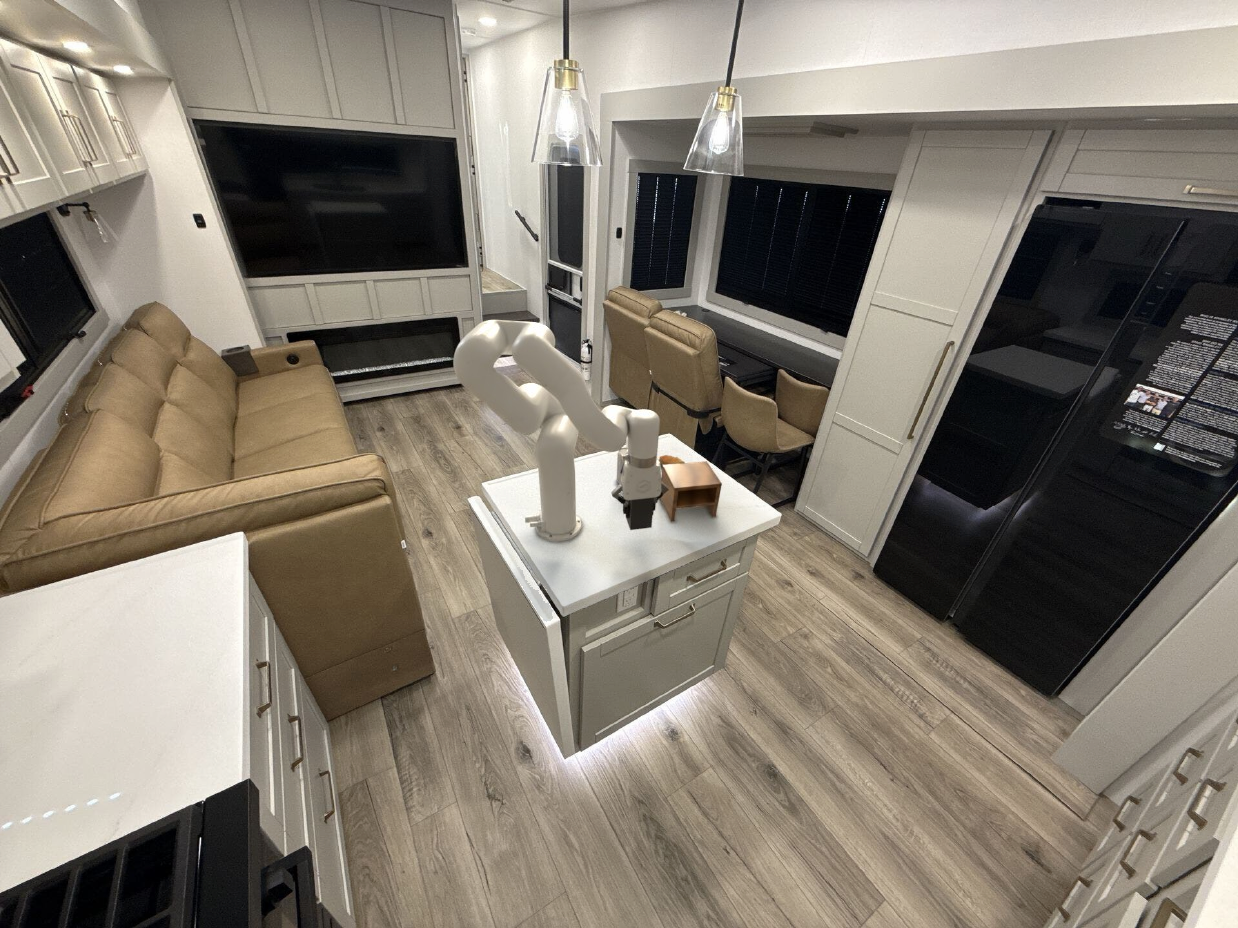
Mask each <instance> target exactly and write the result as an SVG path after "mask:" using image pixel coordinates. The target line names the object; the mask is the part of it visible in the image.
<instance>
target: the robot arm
mask: <svg viewBox="0 0 1238 928" xmlns="http://www.w3.org/2000/svg"><path fill="white" fill-rule="evenodd" d="M555 346H556V338H555V334H554V333H553V331H552V329H551V328H549V327H547V326H546V325H545V324H542V323H539V322H533V321H517V320H504V319H503V320H501V319H489V320H484V321H481V322H480V323H478V324H477V325H476V326H475V327H473V329H472V330H470V331H469V332H467V334H465V336H464V337H463V338H462V339H461V340H460V341H459V343H458V344H457V346H456V348H455V351H454V354H453V361H452V362H453V363H452V364H453V370H454V373H455V376H456V378H457V380H458V382H459V383H460V384H461V386H463V388H465V389H466V390H467V391H468V392H469V393H470V394H472V395H473V396H474V397H476V398H477V399H478V400H480V402H482V403H483V404H484V405H485V406H487V408H488V409H489V410H490V411H492V412H493V413H494V414H495V415H496V416H497V417H498V418H499V419H500V420H502V421H503V422H504V423H505V424H506V425H507V426H508V427H510V428H511V429H512V430H513V431H515V432H516V433H517V434H520V435H522V436H530V435H534V434H535V433H536V432H537V431H538V430H539V429H541V430H540V432H539V435H538V437H537V440H536V443H535V448H534V454H535V460H536V464H537V471H538V485H539V500H540V509H539V513H536V514H535V515H525V516H524V521H525V524H529V528H535V527H536V531H537V533H538V535H539V536H540V537H542V538H543V539H545V540H548V541H551V542H565V541H568V540H571V539H573V538H575V537H577V536H578V535H579V533H580V532H581V530H582V519H581V518H580V516H578V515H577V511H576V510H577V501H576V500H577V497H576V495H577V494H576V491H577V490H576V464H575V451H576V447H577V443H578V438H579V434H581V435H582V437H584V438H585V439H587V440H588V441H589V442H590V443H591V444H593V446H595V447H596V448H598V449H600V451H601V450H602V451H604V452H607V453H615V452H618V451H619V450H620V449H621V448H624V446H625V445H626V440H627V437H628V450H627V453H626V454H625V455H622V460H625V463H624V466H623V471H622V477H621V484H620V485H619V486H618V485H617V486H616V487H615V488H614V489H613V490H612V491H611V493H610V494H611V496H612V498H614V499H615V500H617V501H618V502H619V503H620V504H621V505H622V514H623V515H624V516H626V517H627V518H629V516H630V506H629V502H630V500H636V499H645V498H654V504H653V515H655V513H654V512H655V511H656V509H657V503H658V502H659V500H660V498H661V497H662V496H663V494H665V493H666V492H667V491H668V490H669V489H668V487H667V486H666V485H665V484H664V483H663V482H662V481H661V476H662V467H661V463H660V461H659V459H658V452H659V451H658V449H659V438H660V437H659V435H660V424H661V418H660V415H658V413H657V412H655V411H653V410H652V409H651V410H650V409H633V408H628V407H625V406H621V405H616V404H615V405H612V404H611V405H608V406H605V407H604V408H602V410H601V409H600V408H599V407H598V406H597V404H596V402H595V401H594V399H593V398H592V396H591V393H590V391H589V388H588V384H587V381H586V379H585V376H584V375H583V373H582V372H581V371H580V370H579V368H577V367H576V366H575V365H574V364H573V363H572V362H570V360H568V359H567V357H565V356H564V355H563V354H562V353H561V352H559V350H558V349H557V348H555ZM502 355H506V356H507V355H509V356H511V357H512V359H513V360H514V362H515V364H516V365H517V366H518V367H519V368H521V370H523V371H524V372H525V373H526V374H527V375H528V376H530V377H531V379H533V380H534V381H535V382H537V383H538V384H537V383H532V382H527V383H524V384H521V385H520V386H518V385H517V384H516V383H515V382H514V381H513V380H512V379H511V378H510V377H508V376H507V375H506V374H504V373H502V372H500V371H498V370H496V368H495V367H494V366H495V364H496V362H497V360H499V359H500V358H501V356H502ZM621 492H622V494H620V493H621ZM626 517H625V518H626Z"/></svg>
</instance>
